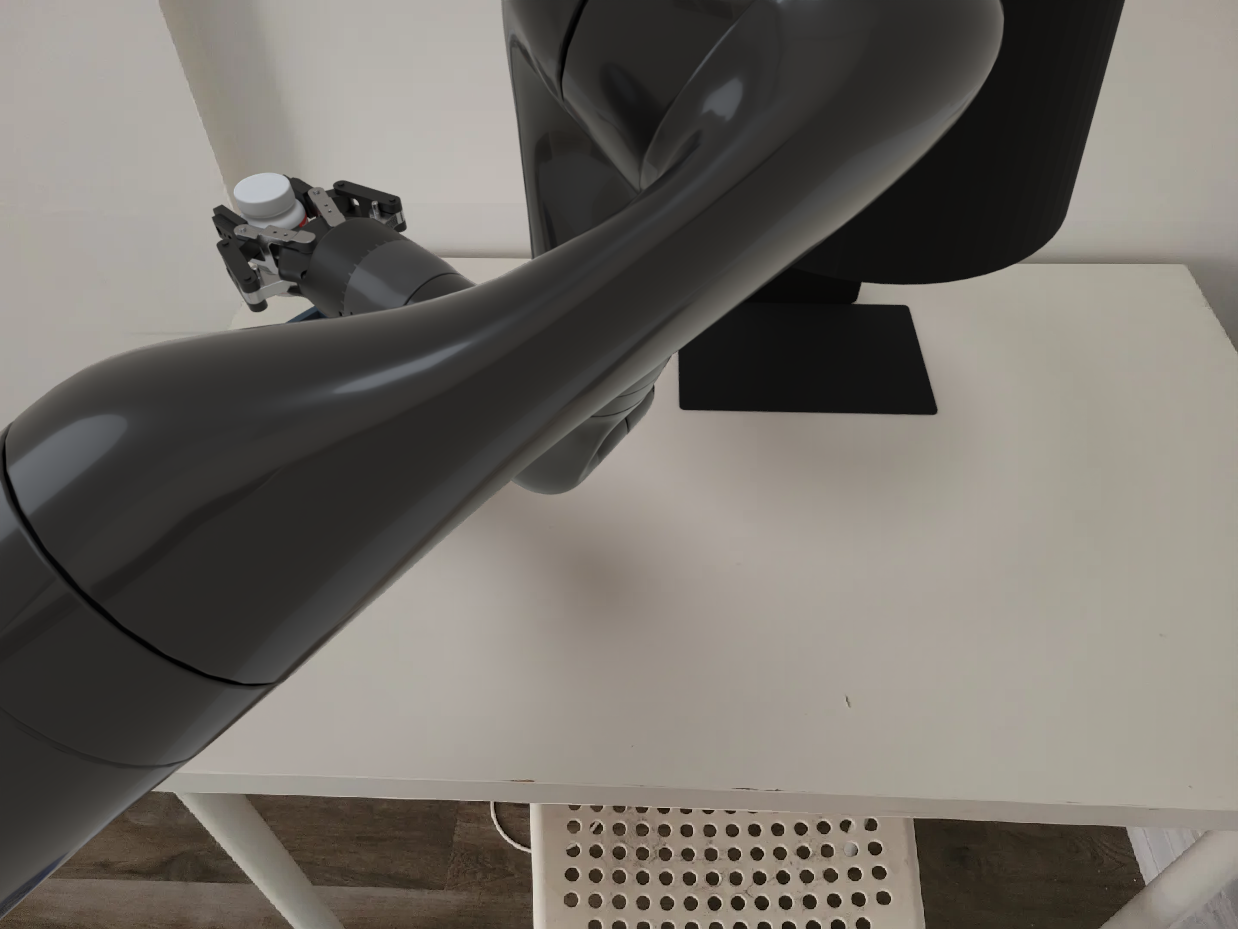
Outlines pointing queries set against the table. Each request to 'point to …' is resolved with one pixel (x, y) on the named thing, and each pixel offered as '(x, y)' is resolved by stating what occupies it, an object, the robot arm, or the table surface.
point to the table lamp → (919, 235)
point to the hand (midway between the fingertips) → (252, 202)
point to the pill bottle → (269, 205)
